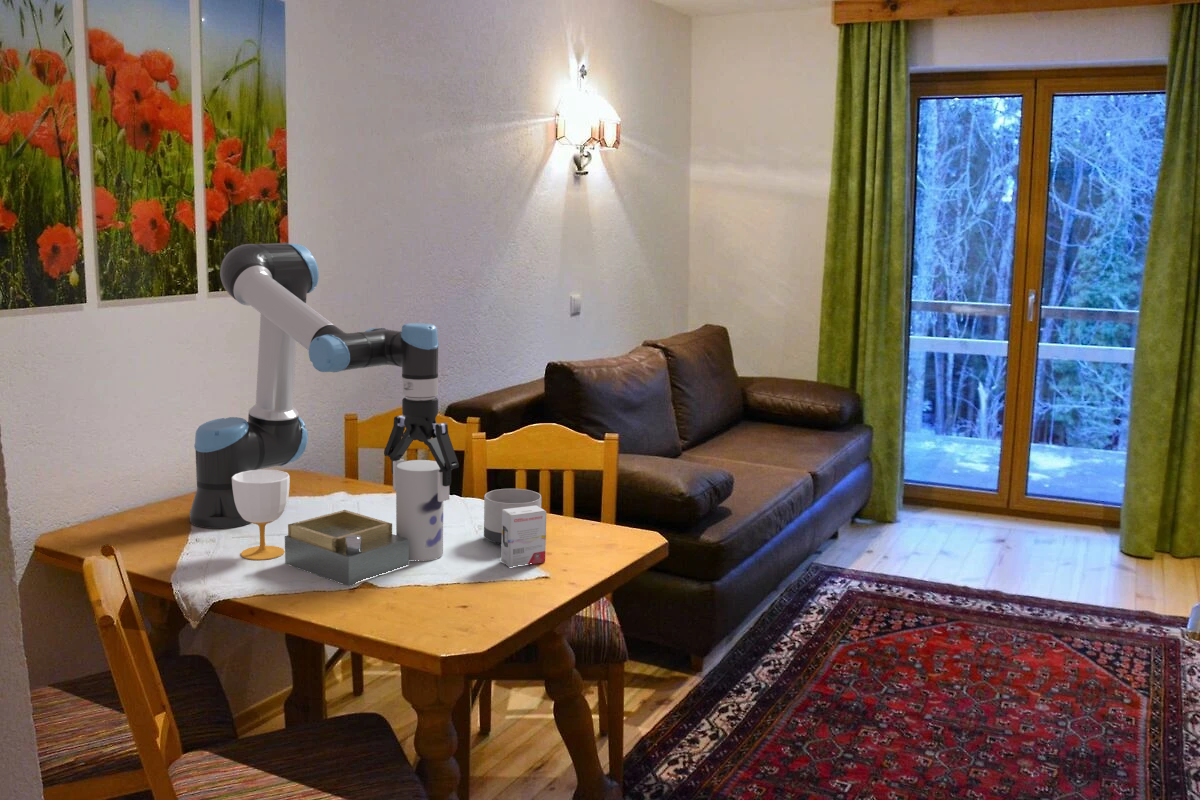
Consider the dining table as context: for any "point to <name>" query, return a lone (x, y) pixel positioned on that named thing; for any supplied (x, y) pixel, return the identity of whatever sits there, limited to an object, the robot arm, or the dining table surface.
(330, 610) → the dining table surface
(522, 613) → the dining table surface
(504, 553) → the ink box
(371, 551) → the grey boxy piece
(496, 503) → the planter
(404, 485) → the container
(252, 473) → the cup
